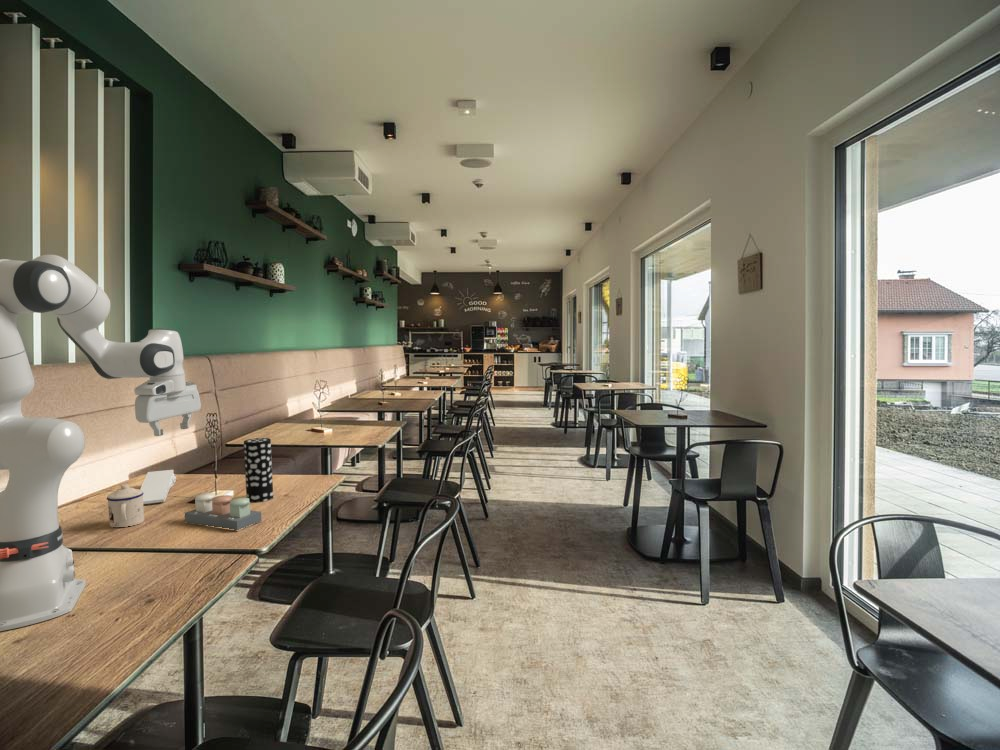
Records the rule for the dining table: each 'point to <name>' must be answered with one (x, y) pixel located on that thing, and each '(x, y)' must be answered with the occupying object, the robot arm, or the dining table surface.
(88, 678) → the dining table surface
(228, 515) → the button panel
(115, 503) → the teacup with lid
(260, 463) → the spotted tube
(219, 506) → the pink dome knob
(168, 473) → the wall bracket
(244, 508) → the button two dots
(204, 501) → the button one dot
